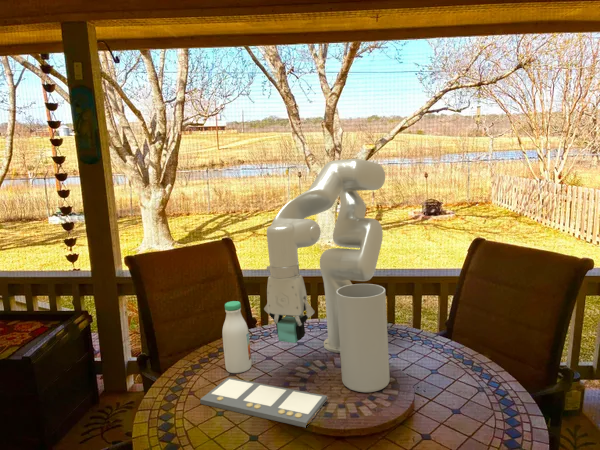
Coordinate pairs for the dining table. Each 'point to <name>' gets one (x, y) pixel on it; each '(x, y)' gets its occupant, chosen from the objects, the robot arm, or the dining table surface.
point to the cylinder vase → (363, 337)
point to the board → (265, 401)
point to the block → (287, 329)
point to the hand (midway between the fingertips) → (291, 336)
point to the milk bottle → (236, 339)
